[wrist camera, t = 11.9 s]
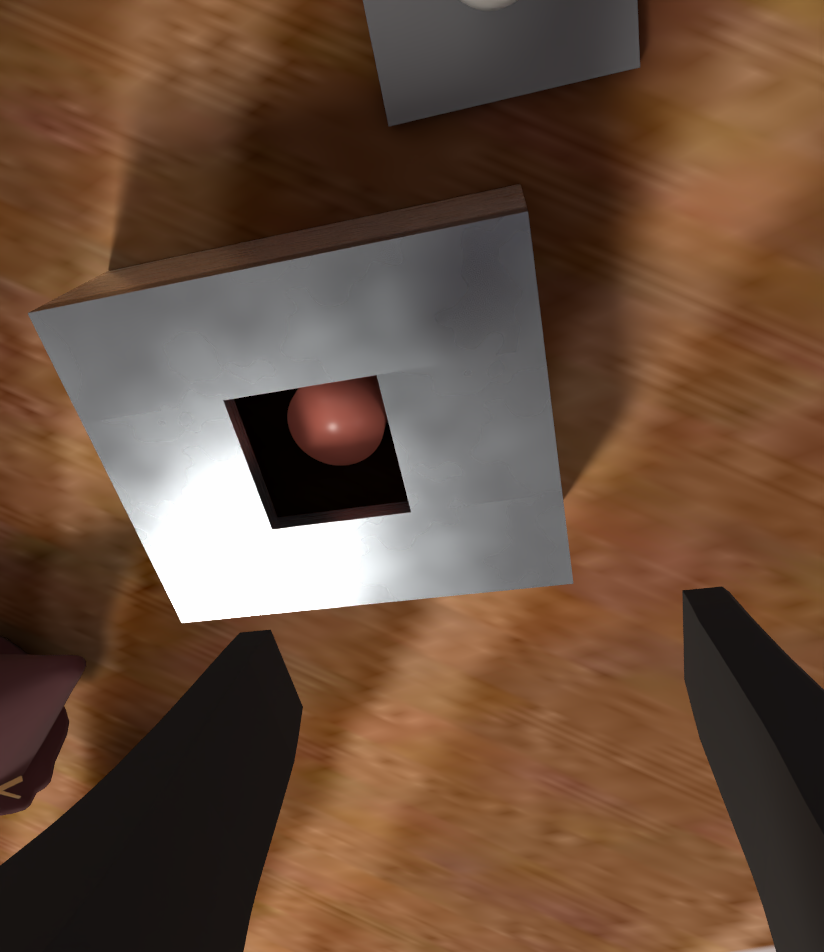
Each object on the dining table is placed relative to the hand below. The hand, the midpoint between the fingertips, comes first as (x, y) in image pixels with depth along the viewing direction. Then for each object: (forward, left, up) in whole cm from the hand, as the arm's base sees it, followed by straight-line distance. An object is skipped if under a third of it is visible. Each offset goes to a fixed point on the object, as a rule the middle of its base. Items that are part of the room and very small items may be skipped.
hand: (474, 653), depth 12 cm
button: (+4, -1, -10) cm, 11 cm away
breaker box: (+4, -1, -10) cm, 11 cm away
